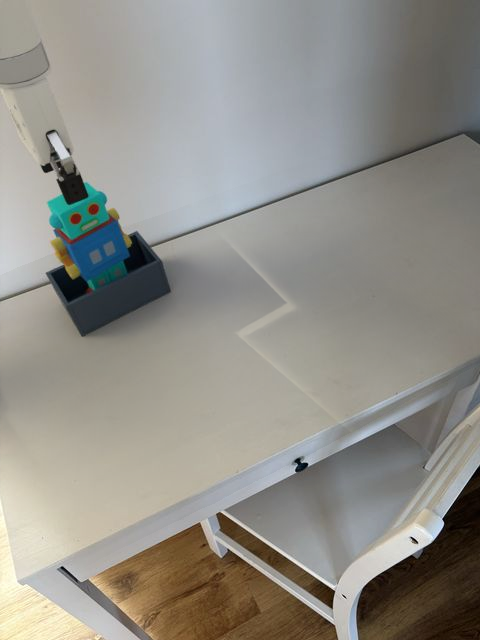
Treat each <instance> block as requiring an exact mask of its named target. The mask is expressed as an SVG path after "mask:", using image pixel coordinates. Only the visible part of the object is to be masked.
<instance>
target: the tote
mask: <svg viewBox="0 0 480 640" xmlns="http://www.w3.org/2000/svg"><path fill="white" fill-rule="evenodd" d="M127 235H128V237H129V238H130V240H131V242H132V244H131V246H130V247H129V248H127V249H128V252H129V254H130V257H128V258H126V259H124V260H123V262H124V265H125V268H126V270H127V273H128V274H127V275H125V276H123V277H121V278H119V279H116V280H114V281H112V282H110V283H108V284H106V285H104V286H102V287H100V288H98V289H96V290H94V291H92V292H90V293H87V294H86V291H87V289H88V288H89V285H88V283H87V282H86V281H85V280H84V279H83V278H82V277H81V276H78V277H77V278H75V279H72V278H71V277H70V275H69V274H68V272H67V271H66V268H65V266H64V264H62V265H60V266H57V267H55V268H53V269H50V270H49V271H46V272H45V275H46V277H47V278H48V280H49V283H50V285H51V286H52V288H53V290H54V292H55V293H56V295H57V298H58V299H59V301H60V302H61V305H62V307H63V308H64V309H65V311H66V313H67V314H68V316H69V318H70V319H71V321H72V323H73V324H74V326H75V328H76V329H77V331H78V333H79V334H80V336H81V337H85V336H86V335H88V334H90V333H92V332H94V331H96V330H99V329H100V328H102V327H104V326H106V325H108V324H110V323H112V322H115V321H116V320H118V319H120V318H122V317H125V316H126V315H128V314H130V313H132V312H134V311H136V310H138V309H140V308H142V307H143V306H145V305H147V304H149V303H151V302H154V301H155V300H158V299H159V298H162V297H163V296H165V295H167V294H169V293H171V292H172V289H171V286H170V284H169V279H168V277H167V274H166V271H165V270H166V269H165V267H164V263H163V260H162V259H161V258H160V257H159V256H158V254H157V253H156V251H155V250H154V249H153V248H152V247H151V246H150V244H149V243H148V242H147V241H146V240H145V238H143V236H142V235H141V234H140V232H139V231H138V230H135V231H133V232H132V233H129V234H127Z"/></svg>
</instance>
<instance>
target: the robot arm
mask: <svg viewBox="0 0 480 640" xmlns="http://www.w3.org/2000/svg"><path fill="white" fill-rule="evenodd" d="M47 54H48V53H47V52H46V49H45V46H44V43H43V41H42V38H41V35H40V32H39V29H38V26H37V24H36V21H35V18H34V15H33V12H32V10H31V6H30V4H29V2H28V0H0V93H1V96H2V98H3V100H4V103H5V105H6V107H7V109H8V112H9V114H10V117H11V119H12V122H13V124H14V127H15V129H16V132H17V135H18V136H19V138H20V140H21V142H22V143H23V145H24V146H25V148H26V149H27V151H28V153H30V155H31V156H32V157H33V159H34V160H35V162H36V163H37V164H38V165H39V166H40V168H41V170H42V172H43V173H44V174H48V173H51V172H54V173H55V175H56V177H57V178H56V179H55V180H56V182H57V185H58V188H59V190H60V192H61V194H63V197H64V199H65V202H66V203H67V204H68V205H71V204H74V203H76V202H79V201H81V200H84V199H86V198H88V193H87V190H86V187H85V185H84V183H85V181H84V179H83V177H82V174H81V172H80V170H79V169H78V167H77V165H76V162H75V161H74V159H73V157H72V155H73V154H74V147H73V143H72V140H71V137H70V135H69V132H68V129H67V127H66V123H65V121H64V118H63V116H62V113H61V111H60V108H59V106H58V104H57V101H56V98H55V96H54V95H55V94H54V93H53V91H52V88H51V86H50V84H49V82H48V78H47V77H48V76H49V75H50V74H51V72H52V65H51V62H50V60H49V58H48V55H47Z"/></svg>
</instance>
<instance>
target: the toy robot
mask: <svg viewBox="0 0 480 640" xmlns="http://www.w3.org/2000/svg"><path fill="white" fill-rule="evenodd" d="M84 185H85V187H86V190H87V193H88V198H86V199H84V200H81V201H79V202H76V203H74V204H71V205H68V204H67V203H66V202H65V199H64V197H63V194H62V193H61V194H60V195H58V196H55V197H53V198H52V199H49V200H47V201H46V204H47V206H48V208H49V211H50V213H51V215H49V218H48V223H49V225H50V226H51V227H52V228H53V230H52V231H53V233H54V236H55V238H54V239H51V240H50V245H51V247H52V248H53V250H54V255H55V257H56V259H57V260H58V262H59V263H60V264H62V265H64V266H65V268H66V271H67V272H68V274H69V275H70V277H71V278H72V279H75V278H77V277H78V276H81V277H82V278H83V279H84V280H85V281H86V282H87V283H88V285H89V288H88V289H87V291H86V294H87V293H90V292H92V291H94V290H96V289H98V288H100V287H102V286H104V285H106V284H108V283H110V282H112V281H114V280H116V279H119V278H121V277H123V276H125V275H127V274H128V273H127V270H126V268H125V265H124V262H123V260H124V259H126V258H128V257H130V254H129V252H128V249H127V248H129V247H130V246H131V244H132V242H131V240H130V238H129V237H128V235H129V234H126V233H125V232H124V231H123V229H122V226H121V224H120V222H119V220H120V219H121V218H120V214H119V212H118V211H117V209H116V208H114V207H111V208H109V209H107V207H106V204H107V203H108V197H107V195H106V194H105V193H104V191H101V190H97V189H95V188H94V187H93V185H91V184H89V182H87V181H86V182H85V181H84Z"/></svg>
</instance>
